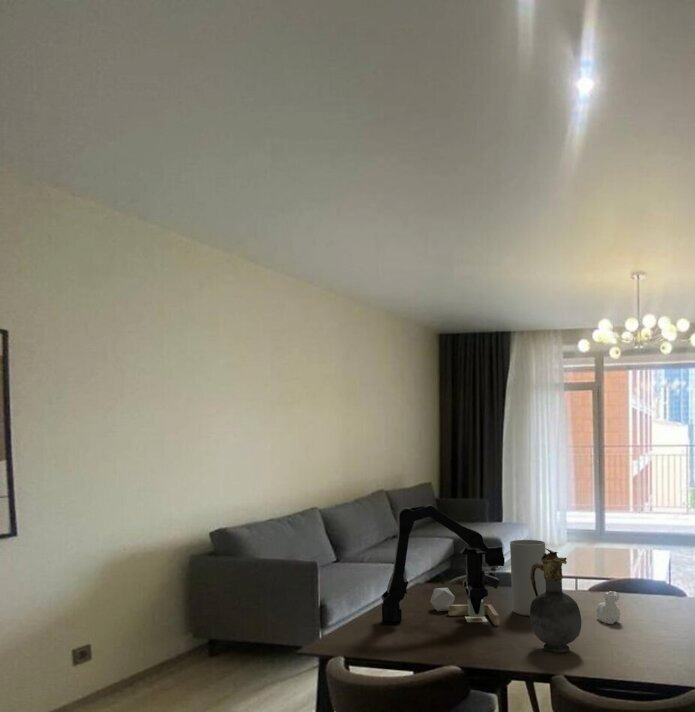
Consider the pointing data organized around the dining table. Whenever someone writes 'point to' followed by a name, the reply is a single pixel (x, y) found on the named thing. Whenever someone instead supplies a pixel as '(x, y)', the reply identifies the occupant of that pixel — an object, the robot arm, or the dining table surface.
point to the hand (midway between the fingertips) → (475, 612)
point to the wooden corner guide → (464, 611)
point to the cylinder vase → (525, 573)
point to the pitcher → (554, 607)
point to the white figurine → (609, 608)
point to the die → (442, 599)
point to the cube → (471, 611)
